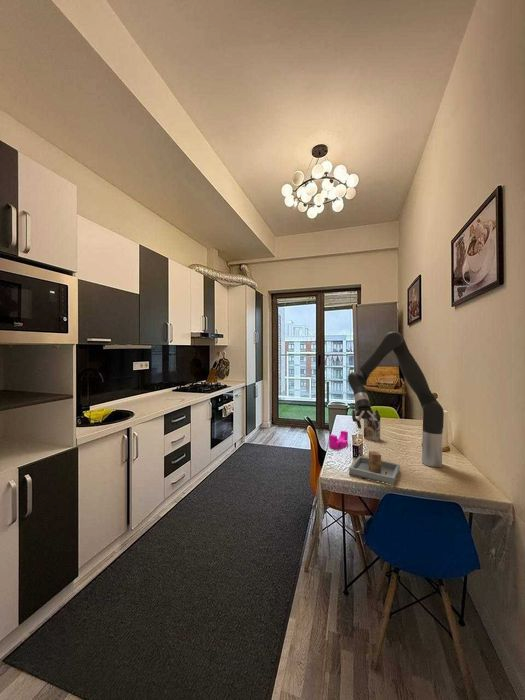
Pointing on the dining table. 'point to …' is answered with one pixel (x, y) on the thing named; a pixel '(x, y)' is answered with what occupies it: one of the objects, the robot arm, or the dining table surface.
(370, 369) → the robot arm
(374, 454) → the walnut block
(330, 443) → the toy block
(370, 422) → the coffee box
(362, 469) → the tray
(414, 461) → the dining table surface
